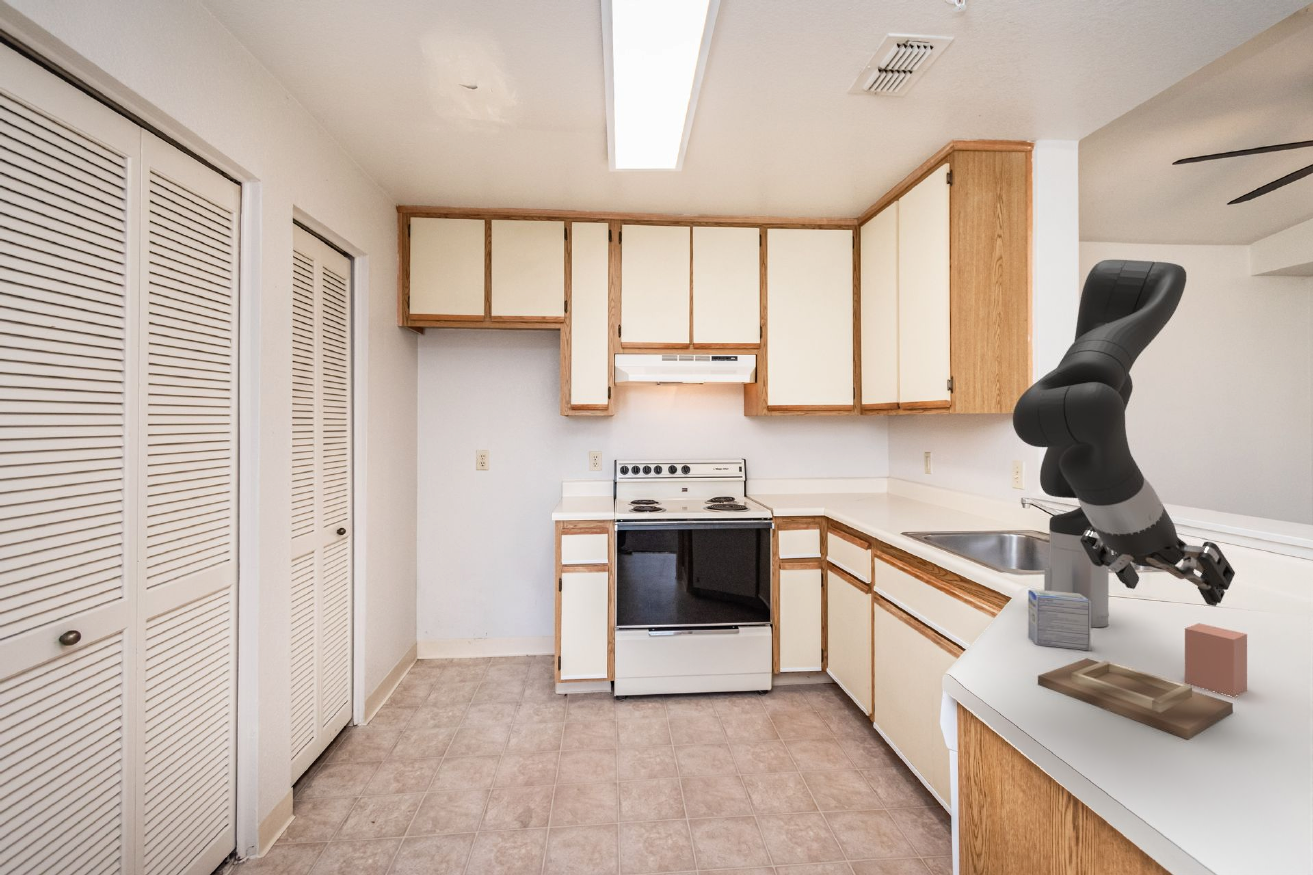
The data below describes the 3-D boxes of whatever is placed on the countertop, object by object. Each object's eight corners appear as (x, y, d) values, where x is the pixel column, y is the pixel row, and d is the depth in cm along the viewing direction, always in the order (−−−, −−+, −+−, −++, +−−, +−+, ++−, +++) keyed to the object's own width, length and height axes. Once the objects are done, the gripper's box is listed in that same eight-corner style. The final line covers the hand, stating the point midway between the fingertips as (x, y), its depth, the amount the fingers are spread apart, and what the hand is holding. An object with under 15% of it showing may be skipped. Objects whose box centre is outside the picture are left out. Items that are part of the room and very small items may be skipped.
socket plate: (1037, 683, 77) (1037, 667, 77) (1086, 665, 83) (1087, 650, 83) (1187, 739, 62) (1187, 719, 62) (1232, 712, 69) (1232, 693, 69)
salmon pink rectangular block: (1184, 683, 77) (1184, 628, 78) (1198, 676, 80) (1198, 623, 80) (1233, 697, 73) (1233, 639, 73) (1247, 690, 75) (1247, 633, 75)
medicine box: (1080, 642, 93) (1080, 593, 93) (1091, 651, 89) (1091, 600, 89) (1027, 636, 96) (1027, 588, 96) (1036, 645, 91) (1036, 595, 92)
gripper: (1209, 493, 62) (1256, 583, 66) (1073, 484, 75) (1120, 559, 80) (1184, 541, 60) (1235, 630, 64) (1049, 523, 73) (1099, 598, 77)
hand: (1172, 591), depth 72 cm, fingers open, 8 cm apart
